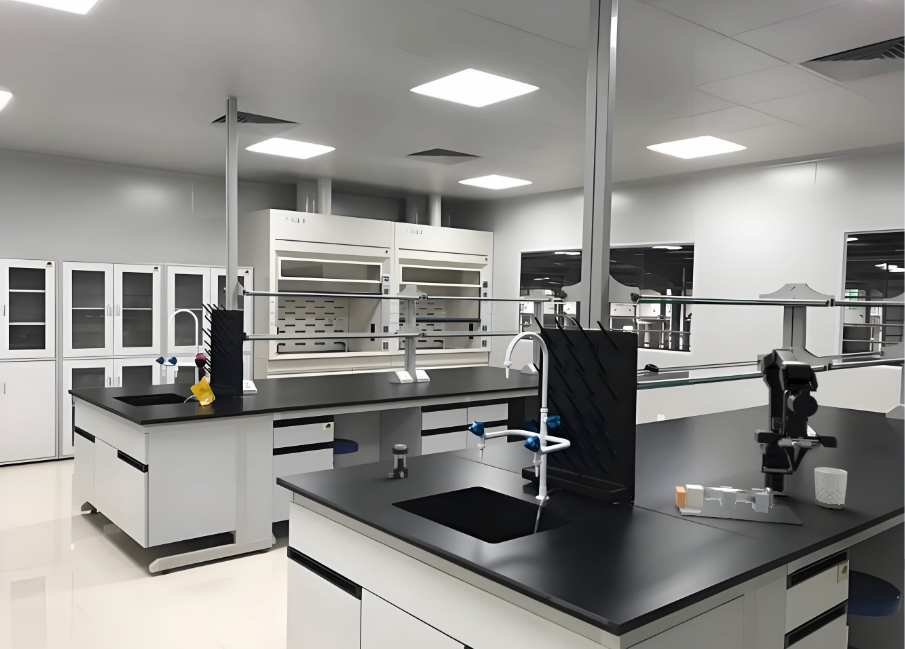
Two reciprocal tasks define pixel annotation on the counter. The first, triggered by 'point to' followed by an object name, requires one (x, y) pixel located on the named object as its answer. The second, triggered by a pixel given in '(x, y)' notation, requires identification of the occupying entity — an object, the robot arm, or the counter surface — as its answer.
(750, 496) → the shaft
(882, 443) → the counter surface
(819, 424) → the counter surface
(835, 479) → the white cup
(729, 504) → the bearing rail
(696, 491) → the block
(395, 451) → the push button
